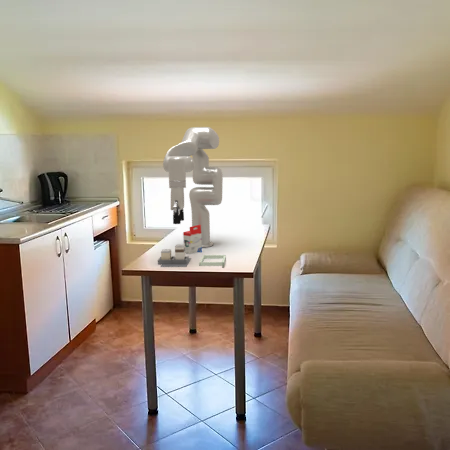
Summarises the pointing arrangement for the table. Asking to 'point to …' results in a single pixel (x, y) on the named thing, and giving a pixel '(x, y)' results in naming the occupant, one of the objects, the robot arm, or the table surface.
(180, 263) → the block
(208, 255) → the parts tray
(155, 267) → the table surface
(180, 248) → the grey rectangular block
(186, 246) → the ink box
